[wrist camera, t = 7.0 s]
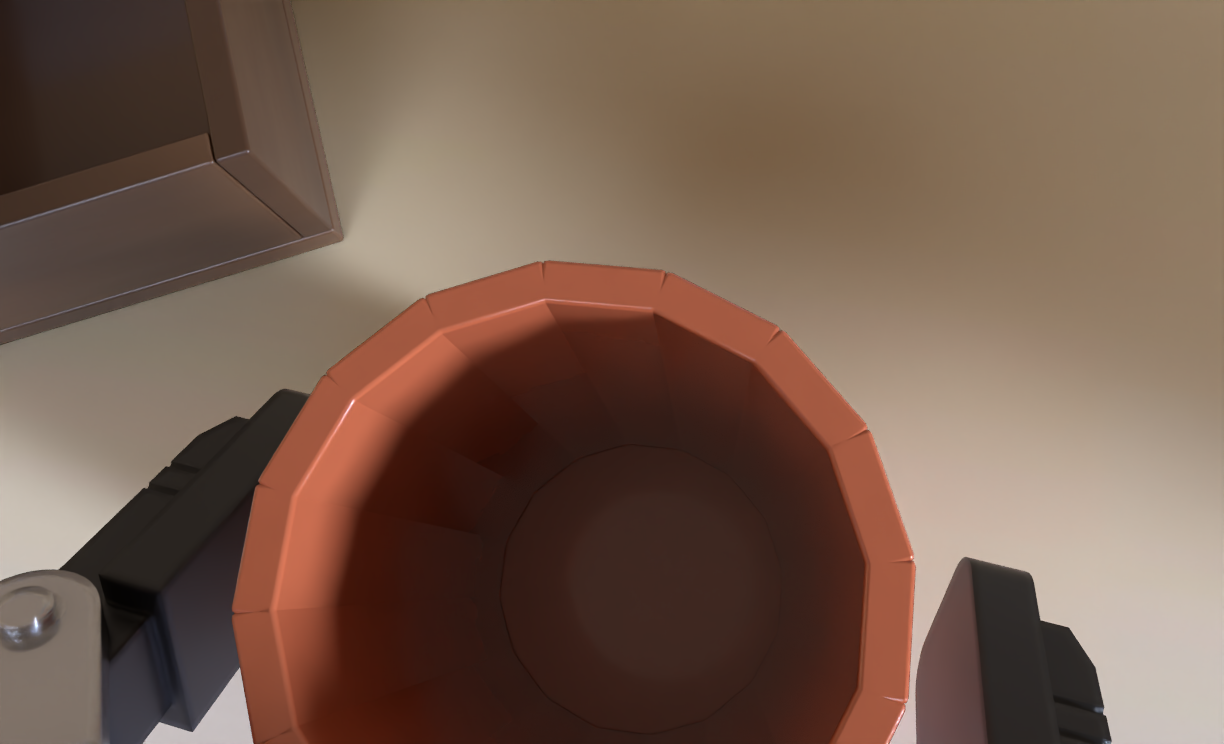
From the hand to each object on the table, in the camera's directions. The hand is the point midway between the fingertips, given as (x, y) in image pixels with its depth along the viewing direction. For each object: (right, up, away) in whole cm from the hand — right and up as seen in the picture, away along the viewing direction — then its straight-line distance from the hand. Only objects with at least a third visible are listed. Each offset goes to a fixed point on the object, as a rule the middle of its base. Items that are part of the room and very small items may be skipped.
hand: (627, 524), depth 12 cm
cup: (0, -2, +5) cm, 5 cm away
